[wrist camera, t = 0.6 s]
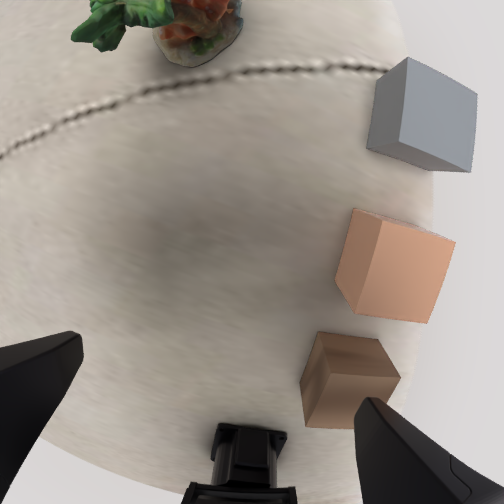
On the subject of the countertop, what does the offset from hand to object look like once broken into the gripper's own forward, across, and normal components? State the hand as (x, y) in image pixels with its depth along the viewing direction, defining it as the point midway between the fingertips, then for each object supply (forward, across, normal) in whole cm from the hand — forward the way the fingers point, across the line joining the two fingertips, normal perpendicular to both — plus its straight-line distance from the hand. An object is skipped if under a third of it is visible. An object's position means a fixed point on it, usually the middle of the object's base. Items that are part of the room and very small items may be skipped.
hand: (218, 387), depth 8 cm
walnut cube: (+12, -9, +6) cm, 16 cm away
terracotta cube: (+12, -8, -3) cm, 15 cm away
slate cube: (+12, -8, -12) cm, 19 cm away
